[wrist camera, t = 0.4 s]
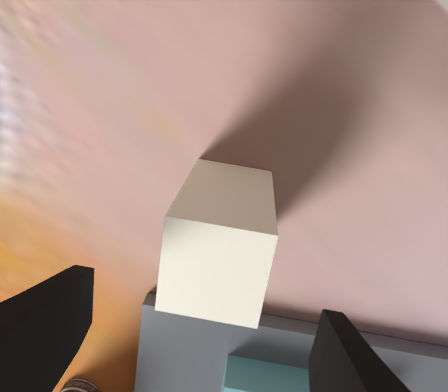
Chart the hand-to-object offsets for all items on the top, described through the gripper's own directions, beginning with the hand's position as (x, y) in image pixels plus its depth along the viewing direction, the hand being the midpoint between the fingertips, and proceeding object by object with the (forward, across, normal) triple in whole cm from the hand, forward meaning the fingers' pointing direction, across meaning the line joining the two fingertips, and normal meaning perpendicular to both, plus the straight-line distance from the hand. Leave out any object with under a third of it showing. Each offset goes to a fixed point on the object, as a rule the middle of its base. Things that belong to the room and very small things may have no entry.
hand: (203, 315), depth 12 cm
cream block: (+10, 0, 0) cm, 10 cm away
